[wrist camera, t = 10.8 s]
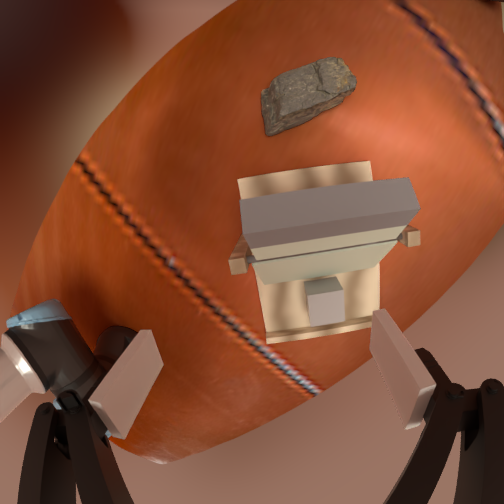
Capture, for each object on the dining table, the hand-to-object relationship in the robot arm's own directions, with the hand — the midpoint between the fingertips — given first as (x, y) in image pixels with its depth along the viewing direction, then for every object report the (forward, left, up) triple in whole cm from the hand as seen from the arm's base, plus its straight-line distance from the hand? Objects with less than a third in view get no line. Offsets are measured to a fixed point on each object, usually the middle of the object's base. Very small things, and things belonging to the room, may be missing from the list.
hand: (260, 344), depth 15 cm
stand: (+7, -6, -30) cm, 32 cm away
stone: (+7, -9, -26) cm, 29 cm away
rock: (+9, +21, -31) cm, 38 cm away
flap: (+7, +1, -21) cm, 23 cm away
